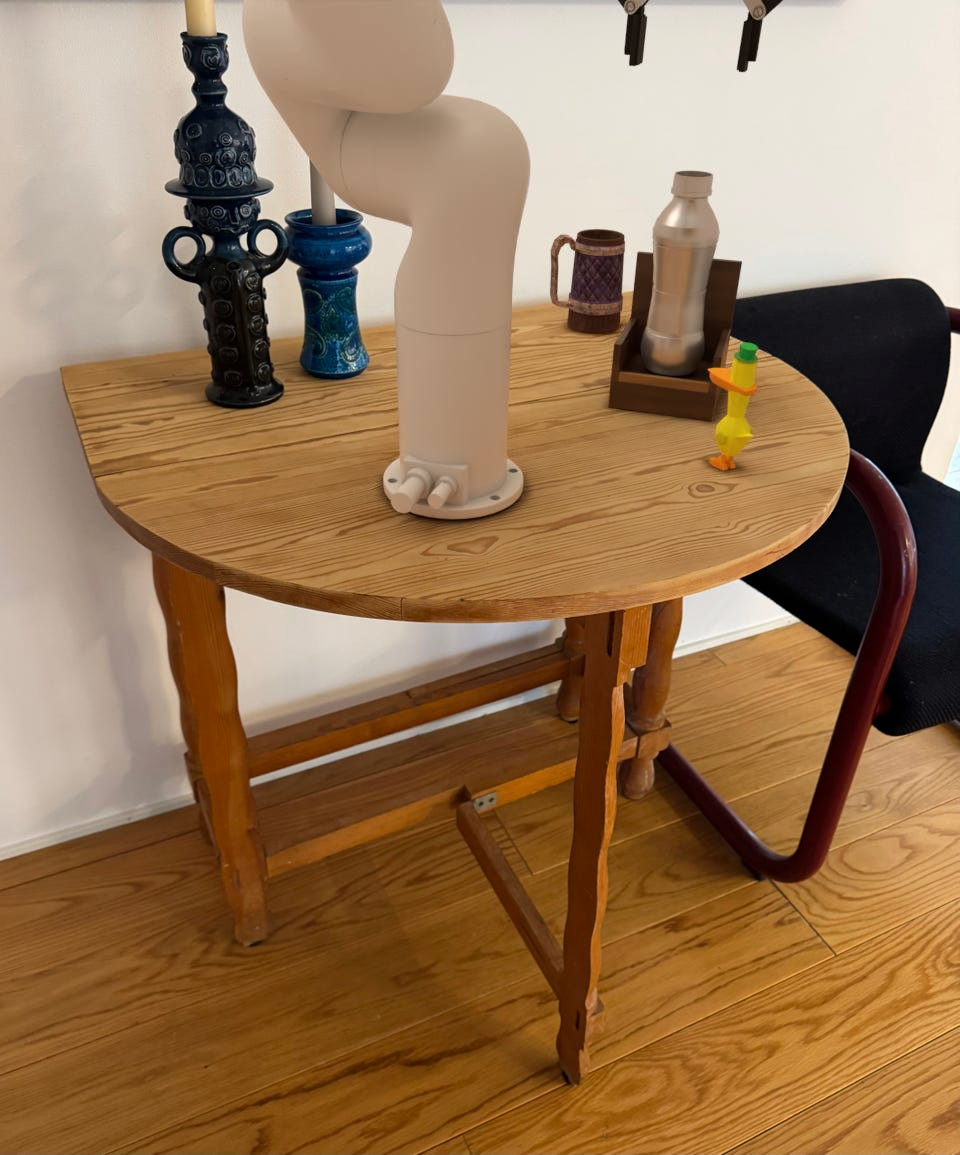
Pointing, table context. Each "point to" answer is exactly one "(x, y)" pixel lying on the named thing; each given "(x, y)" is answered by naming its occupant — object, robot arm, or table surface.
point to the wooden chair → (668, 392)
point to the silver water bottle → (680, 277)
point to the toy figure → (735, 404)
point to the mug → (592, 280)
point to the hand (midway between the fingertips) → (688, 67)
